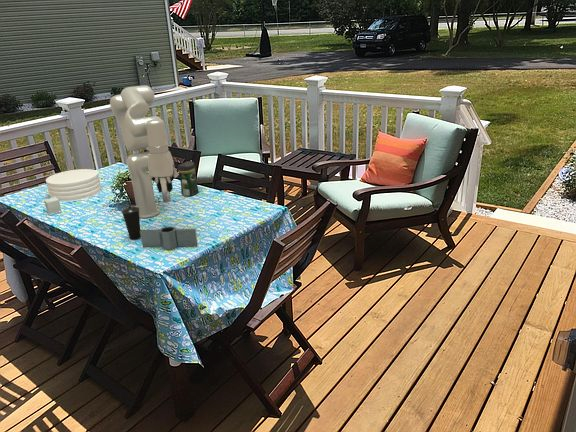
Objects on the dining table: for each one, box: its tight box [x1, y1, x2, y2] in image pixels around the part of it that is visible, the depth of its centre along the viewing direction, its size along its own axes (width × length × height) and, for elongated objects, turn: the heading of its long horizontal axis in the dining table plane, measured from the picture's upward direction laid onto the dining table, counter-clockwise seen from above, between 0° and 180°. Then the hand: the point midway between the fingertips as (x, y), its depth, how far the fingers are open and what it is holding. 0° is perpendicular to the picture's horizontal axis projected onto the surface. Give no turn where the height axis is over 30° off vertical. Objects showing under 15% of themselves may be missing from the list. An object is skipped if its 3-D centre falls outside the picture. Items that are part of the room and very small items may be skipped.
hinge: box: [140, 225, 199, 251], centre depth 203 cm, size 24×7×8 cm, turn 87°
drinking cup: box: [121, 195, 141, 241], centre depth 212 cm, size 8×8×20 cm
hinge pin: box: [159, 177, 172, 204], centre depth 203 cm, size 5×5×15 cm
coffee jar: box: [177, 160, 199, 197], centre depth 265 cm, size 10×8×19 cm
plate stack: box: [45, 168, 103, 201], centre depth 275 cm, size 28×28×12 cm
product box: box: [43, 197, 62, 215], centre depth 249 cm, size 6×6×7 cm
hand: (165, 190), depth 204 cm, fingers closed on hinge pin, 3 cm apart
